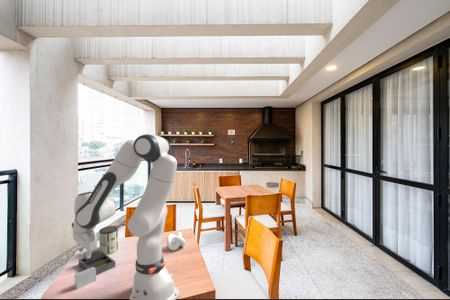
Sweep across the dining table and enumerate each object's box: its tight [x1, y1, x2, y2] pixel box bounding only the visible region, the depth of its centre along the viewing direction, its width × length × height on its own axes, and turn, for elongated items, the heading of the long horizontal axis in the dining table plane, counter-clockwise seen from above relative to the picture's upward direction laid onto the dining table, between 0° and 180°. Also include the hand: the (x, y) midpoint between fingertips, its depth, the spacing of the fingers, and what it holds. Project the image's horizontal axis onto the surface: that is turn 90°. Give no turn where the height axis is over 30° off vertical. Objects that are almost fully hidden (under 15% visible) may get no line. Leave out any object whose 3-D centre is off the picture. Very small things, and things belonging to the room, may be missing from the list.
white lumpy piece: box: [166, 231, 186, 251], centre depth 138 cm, size 11×12×9 cm
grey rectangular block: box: [74, 267, 97, 290], centre depth 101 cm, size 3×8×6 cm, turn 142°
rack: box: [78, 246, 116, 276], centre depth 115 cm, size 18×12×7 cm
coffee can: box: [99, 225, 119, 256], centre depth 132 cm, size 10×10×14 cm
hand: (84, 254), depth 100 cm, fingers open, 8 cm apart
